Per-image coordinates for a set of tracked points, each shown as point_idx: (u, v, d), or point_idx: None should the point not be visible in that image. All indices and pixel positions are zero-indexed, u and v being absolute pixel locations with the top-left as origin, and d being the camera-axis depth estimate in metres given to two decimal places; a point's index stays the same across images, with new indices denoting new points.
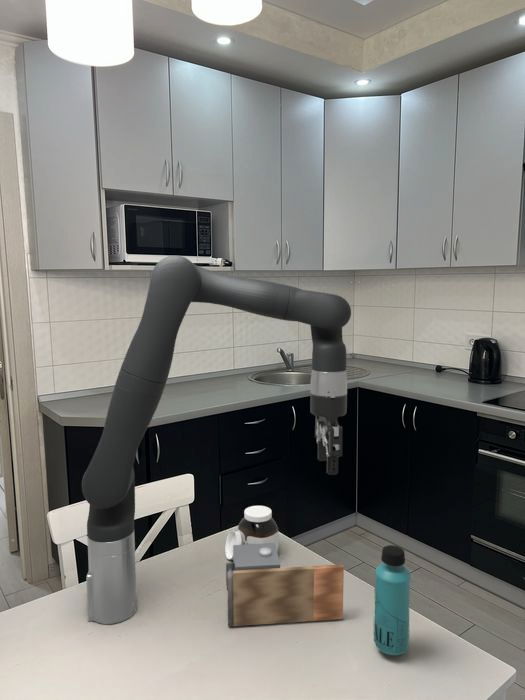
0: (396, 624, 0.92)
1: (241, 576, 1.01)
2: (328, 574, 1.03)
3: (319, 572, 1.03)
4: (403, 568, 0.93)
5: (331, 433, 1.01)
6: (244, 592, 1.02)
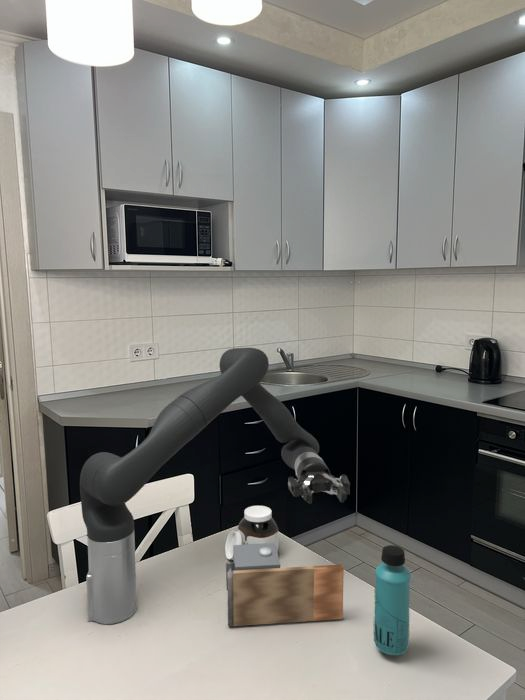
0: (396, 624, 0.92)
1: (241, 576, 1.01)
2: (328, 574, 1.03)
3: (319, 572, 1.03)
4: (403, 568, 0.93)
5: (346, 477, 1.20)
6: (244, 592, 1.02)
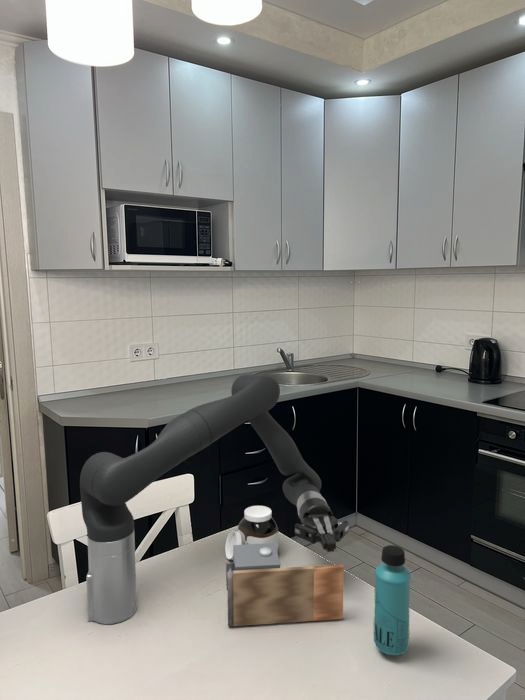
0: (396, 624, 0.92)
1: (241, 576, 1.01)
2: (328, 574, 1.03)
3: (319, 572, 1.03)
4: (403, 568, 0.93)
5: (347, 524, 1.17)
6: (244, 592, 1.02)
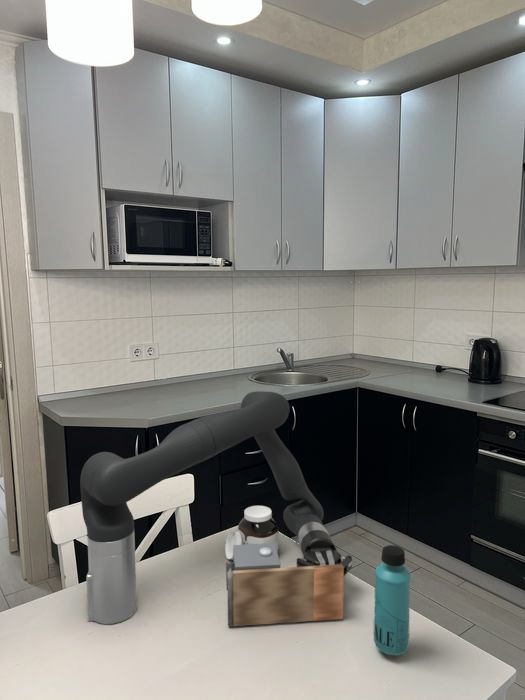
0: (396, 624, 0.92)
1: (241, 576, 1.01)
2: (328, 574, 1.03)
3: (319, 572, 1.03)
4: (403, 568, 0.93)
5: (350, 559, 1.13)
6: (244, 592, 1.02)
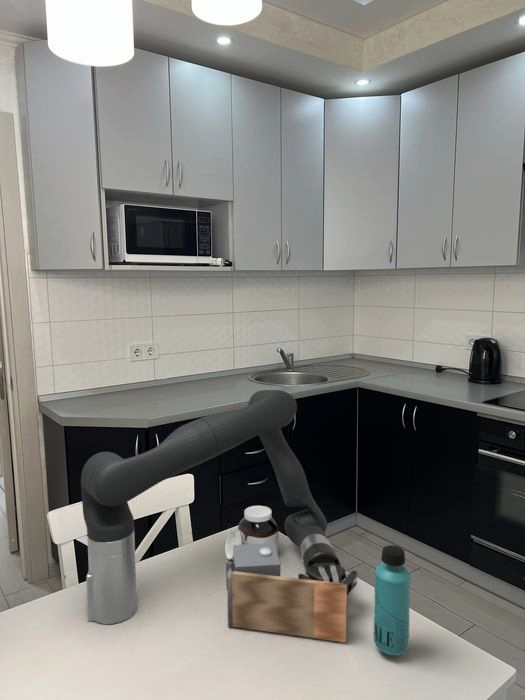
0: (396, 624, 0.92)
1: (240, 578, 1.01)
2: (329, 592, 0.97)
3: (320, 588, 0.97)
4: (403, 568, 0.93)
5: (355, 575, 1.07)
6: (243, 594, 1.01)
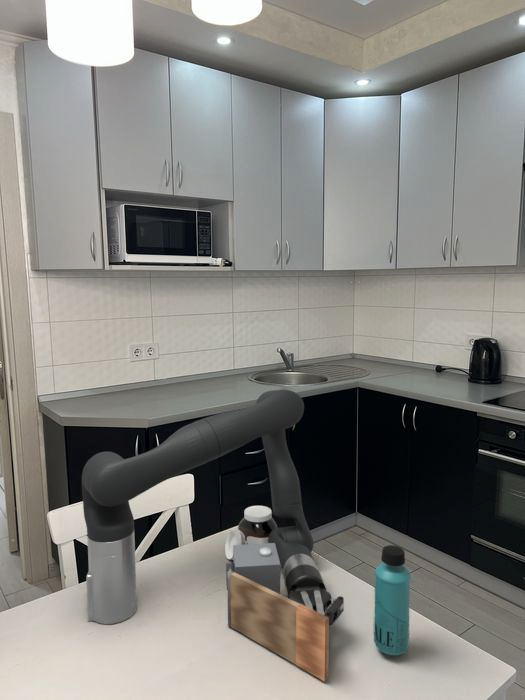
0: (396, 624, 0.92)
1: (236, 580, 1.00)
2: (310, 621, 0.89)
3: (301, 614, 0.90)
4: (403, 568, 0.93)
5: (342, 602, 0.98)
6: (238, 597, 1.00)
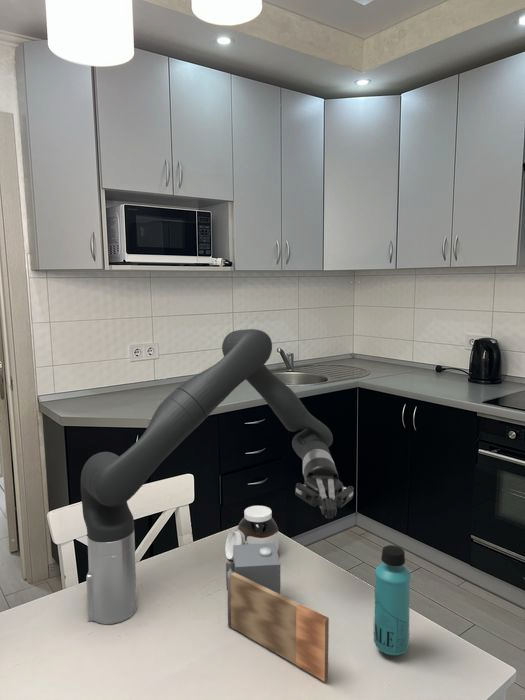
0: (396, 624, 0.92)
1: (236, 580, 1.00)
2: (310, 621, 0.89)
3: (301, 614, 0.90)
4: (403, 568, 0.93)
5: (351, 490, 1.10)
6: (238, 597, 1.00)
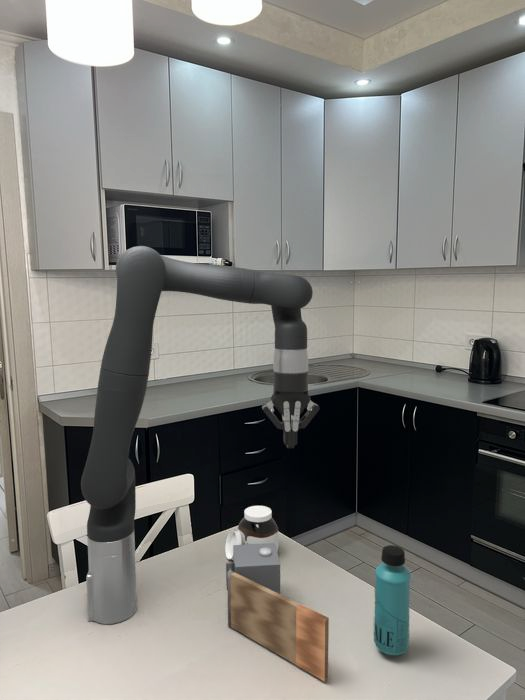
0: (396, 624, 0.92)
1: (236, 580, 1.00)
2: (310, 621, 0.89)
3: (301, 614, 0.90)
4: (403, 568, 0.93)
5: None
6: (238, 597, 1.00)
